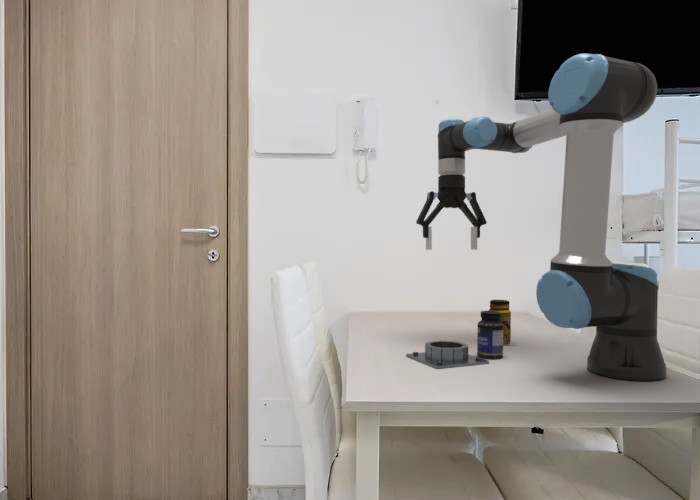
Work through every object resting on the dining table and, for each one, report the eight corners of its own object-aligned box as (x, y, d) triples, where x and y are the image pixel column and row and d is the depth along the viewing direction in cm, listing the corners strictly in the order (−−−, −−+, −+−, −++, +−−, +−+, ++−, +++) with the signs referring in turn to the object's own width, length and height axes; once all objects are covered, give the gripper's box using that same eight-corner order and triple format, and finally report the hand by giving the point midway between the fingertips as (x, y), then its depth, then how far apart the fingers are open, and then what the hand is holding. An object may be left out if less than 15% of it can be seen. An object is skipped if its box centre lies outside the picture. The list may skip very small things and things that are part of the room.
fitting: (489, 363, 120) (489, 348, 120) (437, 369, 115) (437, 352, 115) (454, 352, 133) (454, 337, 133) (406, 356, 128) (406, 341, 128)
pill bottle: (472, 355, 129) (472, 311, 129) (491, 353, 132) (491, 309, 132) (488, 360, 124) (488, 314, 123) (508, 358, 126) (508, 312, 126)
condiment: (516, 345, 143) (516, 301, 142) (486, 346, 141) (487, 302, 141) (504, 340, 150) (505, 298, 150) (476, 341, 149) (476, 299, 148)
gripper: (486, 178, 154) (486, 249, 154) (405, 176, 150) (405, 249, 150) (498, 174, 147) (498, 249, 147) (413, 172, 142) (413, 249, 142)
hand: (451, 249), depth 148 cm, fingers open, 13 cm apart
